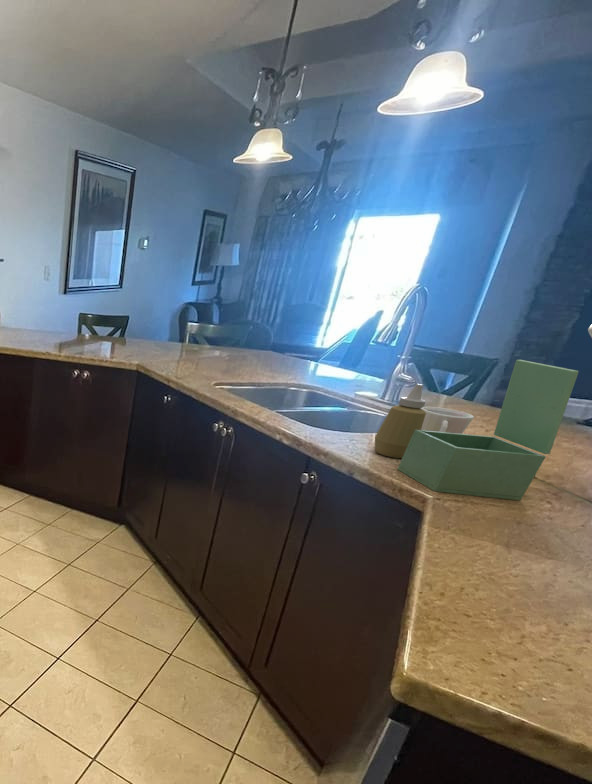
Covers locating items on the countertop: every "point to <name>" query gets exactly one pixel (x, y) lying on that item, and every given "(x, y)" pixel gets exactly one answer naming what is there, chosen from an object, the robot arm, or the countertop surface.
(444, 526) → the countertop surface
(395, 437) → the squeeze bottle
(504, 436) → the tin lid
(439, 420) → the mug
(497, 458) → the tea tin
